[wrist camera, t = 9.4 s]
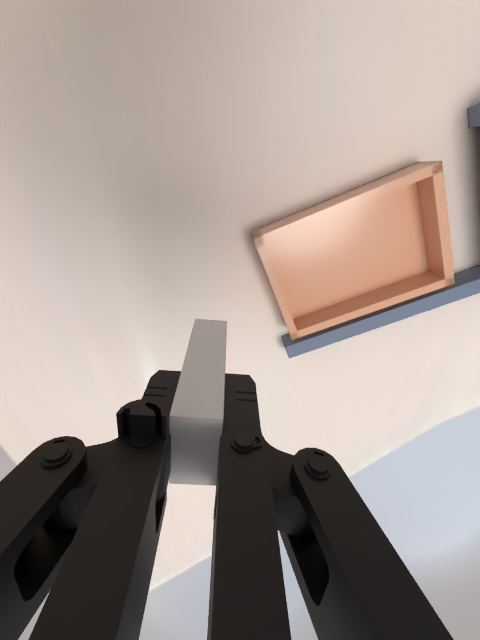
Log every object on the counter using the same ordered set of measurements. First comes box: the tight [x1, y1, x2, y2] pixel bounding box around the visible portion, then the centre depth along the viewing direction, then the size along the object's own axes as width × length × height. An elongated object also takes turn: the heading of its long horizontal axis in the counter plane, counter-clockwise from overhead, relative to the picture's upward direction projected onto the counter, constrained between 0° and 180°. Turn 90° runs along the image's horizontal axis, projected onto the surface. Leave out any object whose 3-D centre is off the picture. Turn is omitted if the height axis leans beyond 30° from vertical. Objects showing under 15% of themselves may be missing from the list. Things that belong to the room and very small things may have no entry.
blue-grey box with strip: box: [282, 104, 480, 358], centre depth 27 cm, size 16×40×5 cm, turn 113°
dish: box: [252, 161, 455, 340], centre depth 29 cm, size 11×16×4 cm
